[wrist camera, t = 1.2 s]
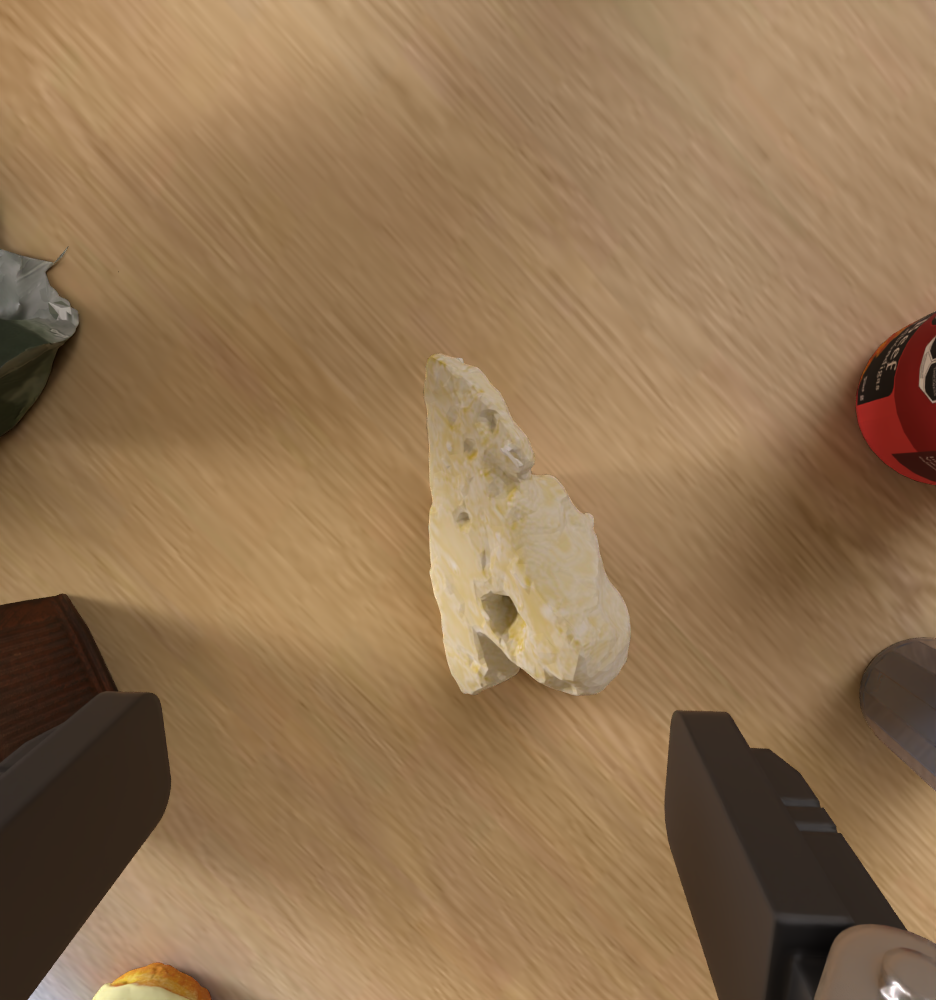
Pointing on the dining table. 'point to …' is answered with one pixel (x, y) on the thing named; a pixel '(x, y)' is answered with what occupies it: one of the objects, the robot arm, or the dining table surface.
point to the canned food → (902, 401)
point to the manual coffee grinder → (45, 668)
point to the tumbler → (904, 703)
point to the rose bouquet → (28, 332)
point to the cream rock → (511, 550)
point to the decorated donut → (153, 985)
